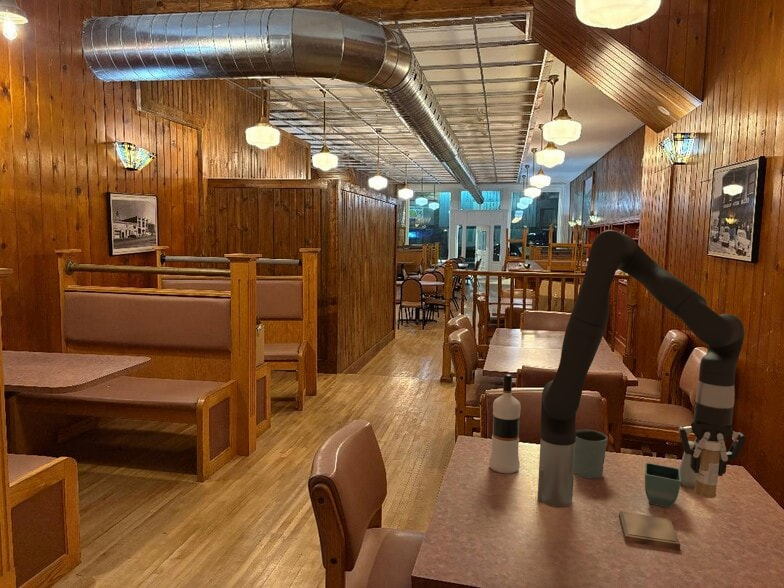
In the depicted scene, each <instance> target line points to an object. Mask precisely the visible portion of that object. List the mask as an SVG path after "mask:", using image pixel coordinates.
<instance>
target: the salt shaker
mask: <svg viewBox="0 0 784 588" xmlns="http://www.w3.org/2000/svg"><path fill="white" fill-rule="evenodd" d="M688 442H689V446H690V448H692V447H693V445H694V441H692V440H688ZM683 451H684V450H683ZM690 463H691V455H690V454H686V453H685V451H684V452H683V454H682V458H681V462H680V465H679V467H678V469H680V476H681V484H680V486H683V487H685V488H688V489H689V488H690V489H695V484H696V473H694V471H693V470H692V468H691V466H690Z"/></svg>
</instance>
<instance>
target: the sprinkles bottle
mask: <svg viewBox="0 0 784 588" xmlns="http://www.w3.org/2000/svg"><path fill="white" fill-rule="evenodd" d="M699 458H700V462H699V472H698V473H696V484H695V488H693V490H694V491H693V492H694V493H695V495H697V496H699V497H701V498H705V499H715V498H716V497H717V484H718V481H719V479H718V478H719V476H718V472H719V459H720V444H719V443H718V442H715V441H708V440H707V442H705V446H704V449H703V450H702V451H701V453H700V455H699Z"/></svg>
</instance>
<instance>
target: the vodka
mask: <svg viewBox="0 0 784 588" xmlns="http://www.w3.org/2000/svg"><path fill="white" fill-rule="evenodd" d="M502 381H503V386H502V387H503V388H502V395H500V396H499V397H497V398H495V399H494V401H493V403H492V416H493V419H492V435H491V454H490V457H489V461H488V464H489V468H490V469H492V471H494V472H497V473H499V474H505V475H507V474H514V473H516V472H518V471H519V469H520V467H521V466H520V460H519V459H520V457H519V443H520V438H519V437H520V434H519V433H520V418H521V403H520V400H518V399H517V398H516V397H514V396H513V395H512V394H513V393H512V388H513V375H512V374H510V373H505V374H503V380H502Z"/></svg>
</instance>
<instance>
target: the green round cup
mask: <svg viewBox="0 0 784 588" xmlns="http://www.w3.org/2000/svg"><path fill="white" fill-rule="evenodd" d="M608 439H609V438H608V436H607V435H606V434H604V433H603V432H601V431H597V430H593V429H592V430H591V429H576V445H575V462H574V475H577V476H578V477H581V478H585V479H592V480H593V479H594V480H595V479H599V478H601V477H603V473H604V464H605V459H606V450H607V445H608Z"/></svg>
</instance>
